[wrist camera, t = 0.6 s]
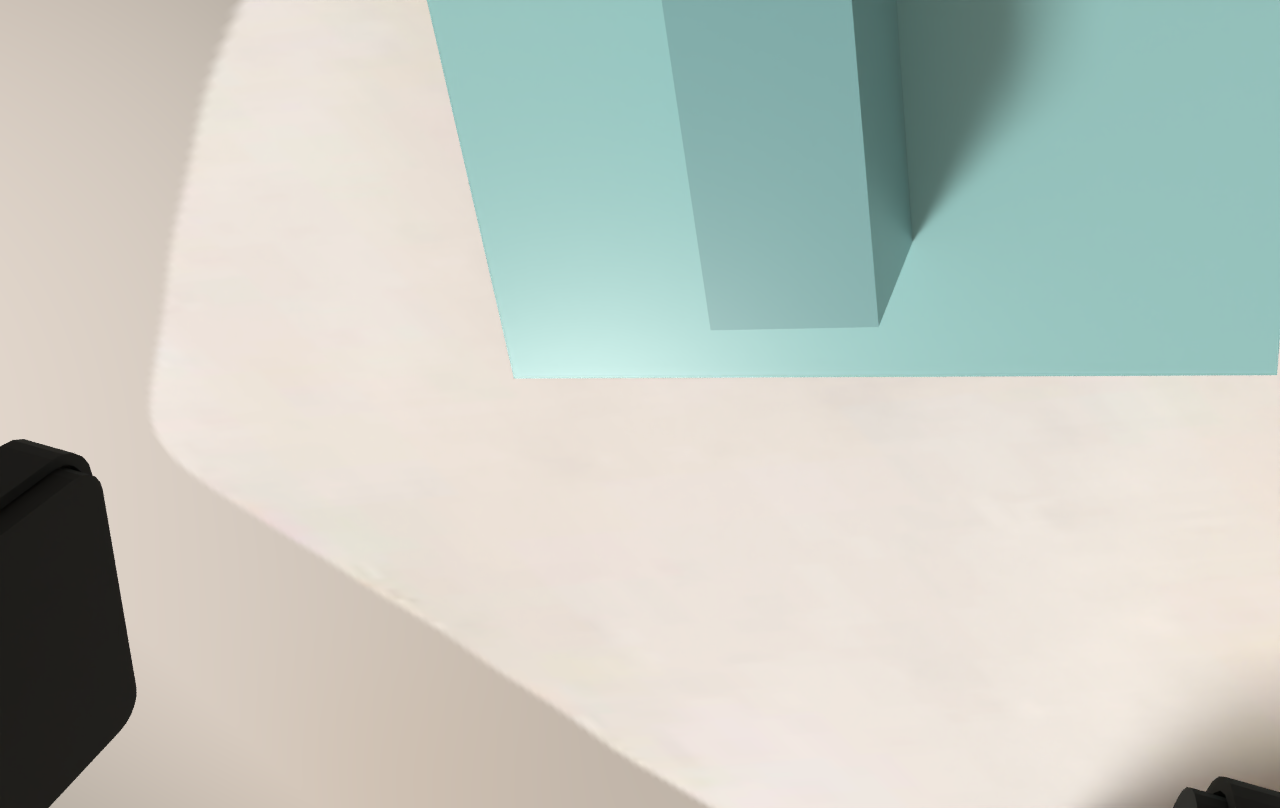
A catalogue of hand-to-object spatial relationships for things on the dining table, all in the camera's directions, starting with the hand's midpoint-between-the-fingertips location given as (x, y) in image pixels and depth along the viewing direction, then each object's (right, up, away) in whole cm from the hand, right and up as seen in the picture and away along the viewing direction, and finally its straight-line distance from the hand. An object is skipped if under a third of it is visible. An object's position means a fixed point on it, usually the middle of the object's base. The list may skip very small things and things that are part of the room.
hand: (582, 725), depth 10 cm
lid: (+6, +11, +19) cm, 23 cm away
